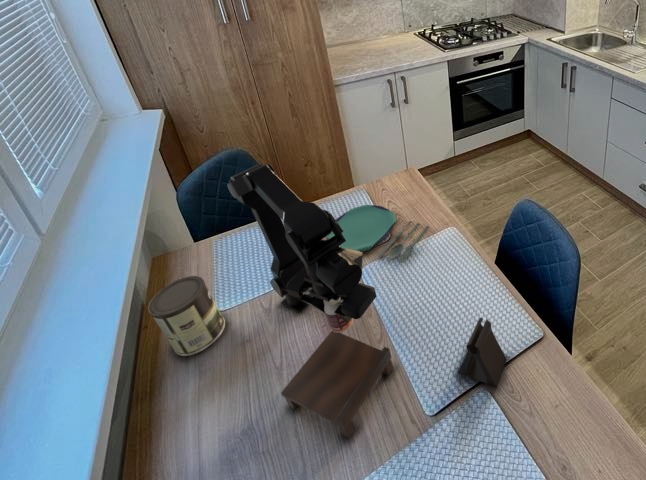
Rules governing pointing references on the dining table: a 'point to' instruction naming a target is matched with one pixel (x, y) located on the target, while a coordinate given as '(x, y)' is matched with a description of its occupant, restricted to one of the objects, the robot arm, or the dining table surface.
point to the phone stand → (483, 356)
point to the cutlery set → (372, 230)
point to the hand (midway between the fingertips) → (340, 317)
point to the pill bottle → (335, 316)
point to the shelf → (338, 379)
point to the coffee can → (187, 315)
